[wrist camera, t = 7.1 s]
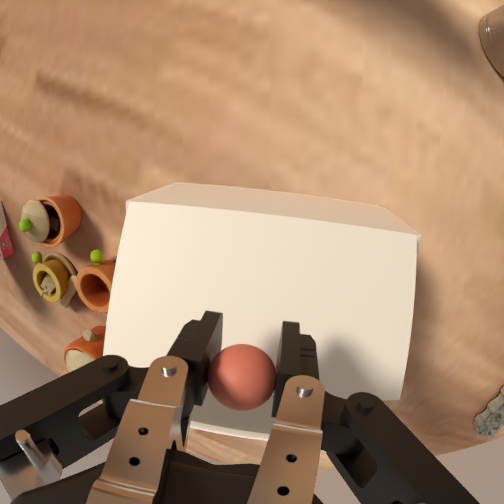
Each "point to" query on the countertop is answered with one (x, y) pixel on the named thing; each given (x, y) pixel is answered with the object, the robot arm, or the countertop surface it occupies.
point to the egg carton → (491, 417)
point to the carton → (270, 203)
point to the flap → (265, 296)
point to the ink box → (4, 237)
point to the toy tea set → (68, 271)
